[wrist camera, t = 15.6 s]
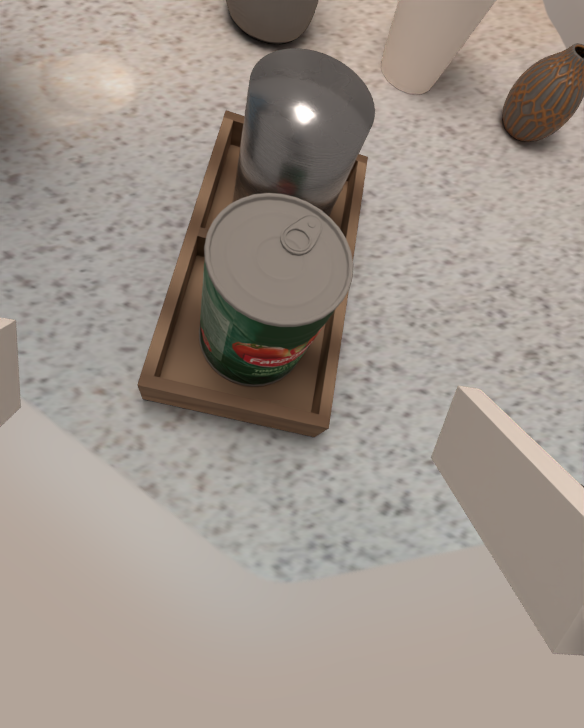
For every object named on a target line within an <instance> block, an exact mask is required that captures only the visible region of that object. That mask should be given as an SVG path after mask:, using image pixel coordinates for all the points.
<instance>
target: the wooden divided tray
mask: <svg viewBox="0 0 584 728" xmlns="http://www.w3.org/2000/svg"><path fill="white" fill-rule="evenodd" d="M244 117H245V116H242V115H239V114H236V113H233V112H229V111H225V114H224V118H223V121H222V124H221V127H220V130H219V133H218V136H217V139H216V142H215V145H214V149H213V152H212V155H211V158H210V161H209V164H208V167H207V170H206V173H205V177H204V180H203V183H202V186H201V189H200V192H199V195H198V198H197V201H196V204H195V208H194V211H193V214H192V217H191V220H190V223H189V226H188V229H187V232H186V236H185V239H184V242H183V245H182V248H181V251H180V254H179V257H178V260H177V263H176V267H175V270H174V273H173V276H172V279H171V282H170V285H169V288H168V291H167V294H166V298H165V301H164V304H163V307H162V310H161V313H160V316H159V319H158V322H157V326H156V329H155V332H154V335H153V338H152V341H151V344H150V347H149V350H148V353H147V357H146V360H145V363H144V366H143V369H142V372H141V375H140V378H139V381H138V388H139V390H140V393H141V396H142V398H143V399H145V400H150V401H154V402H159V403H163V404H168V405H172V406H177V407H181V408H186V409H190V410H195V411H199V412H204V413H208V414H213V415H217V416H222V417H226V418H231V419H235V420H240V421H244V422H249V423H253V424H257V425H262V426H266V427H271V428H275V429H280V430H284V431H289V432H293V433H298V434H302V435H307V436H311V437H316V436H317V435H319V434H320V433H322V432H324V431H325V430H327V429H329V422H330V415H331V409H332V402H333V395H334V388H335V381H336V374H337V367H338V360H339V353H340V346H341V339H342V332H343V325H344V318H345V312H346V305H347V298H348V292H347V294H346V296H345V298H344V300H343V301H342V302H341V303H340V304H339V306H338V307H337V308H336V309H335V310H334V312H333V314H332V315H331V316H330V318H329V320H328V321H327V322H326V323H325V325H324V327H323V328H322V329H321V331H320V332H319V333H318V335H317V336H316V338H315V339H314V341H313V342H312V343H311V345H310V346H309V347H308V349H307V350H306V352H305V353H304V355H303V356H302V357H301V359H300V360H299V361H298V363H297V365H296V366H295V368H294V369H293V370H292V371H291V372H290V373H289V374H288V375H287V376H285V377H284V378H283V379H281V380H279V381H277V382H275V383H273V384H269V385H265V386H255V387H250V386H243V385H239V384H236V383H233V382H230V381H229V380H227V379H225V378H223V377H222V376H220V375H219V374H218V373H217V372H216V371H215V370H213V368H212V367H211V366H210V365H209V363H208V362H207V361H206V359H205V357H204V355H203V353H202V350H201V346H200V342H199V328H200V315H201V300H202V286H203V272H204V261H205V254H204V246H205V241H206V236H207V233H208V231H209V228H210V226H211V224H212V222H213V221H214V219H215V218H216V217H217V215H218V214H219V213H220V212H221V211H222V210H223V209H225V208H226V207H227V206H228V205H229V204H231V203H232V202H233V195H234V188H235V181H236V174H237V167H238V160H239V153H240V145H241V138H242V131H243V124H244ZM367 159H368V157H366V156H363V155H360V154H358V156H357V158H356V161H355V163H354V165H353V167H352V169H351V171H350V173H349V175H348V178H347V180H346V182H345V184H344V186H343V188H342V190H341V192H340V195H339V197H338V199H337V201H336V203H335V205H334V207H333V209H332V212H331V214H330V216H329V217H330V218H331V219H332V220H333V221H334V222H335V224H336V225H337V226H338V227H339V228H340V230H341V231H342V233H343V235H344V236H345V238H346V240H347V242H348V245H349V247H350V250H351V254H352V260H353V256H354V249H355V242H356V235H357V228H358V221H359V214H360V208H361V201H362V194H363V187H364V180H365V173H366V166H367ZM348 291H349V290H348Z"/></svg>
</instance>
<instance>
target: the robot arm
mask: <svg viewBox="0 0 584 728" xmlns="http://www.w3.org/2000/svg"><path fill="white" fill-rule="evenodd" d="M20 407H21V404H20V385H19V367H18V349H17V331H16V320H12V319H5V318H0V427H1V426H2V425H3V424H4V423H5V422H6V421H7V420H8V419H9V418H10V417H11V416H12V415H13V414H14V413H15V412H16V411H17V410H18V409H19V408H20ZM431 458H432V460H433V462H434V463H435V465H436V466H437V468H438V470H439V471H440V473H441V474H442V476H443V478H444V479H445V481H446V483H447V484H448V486H449V487H450V489H451V491H452V492H453V494H454V495H455V497H456V499H457V500H458V502H459V503H460V505H461V507H462V508H463V510H464V512H465V513H466V515H467V516H468V518H469V520H470V521H471V523H472V524H473V526H474V528H475V529H476V531H477V533H478V534H479V536H480V537H481V539H482V541H483V542H484V544H485V545H486V547H487V549H488V550H489V552H490V553H491V555H492V557H493V558H494V560H495V562H496V563H497V565H498V566H499V568H500V570H501V571H502V573H503V574H504V576H505V578H506V579H507V581H508V582H509V584H510V586H511V587H512V589H513V591H514V592H515V594H516V595H517V597H518V599H519V600H520V602H521V603H522V605H523V607H524V608H525V610H526V612H527V613H528V615H529V616H530V618H531V620H532V621H533V623H534V624H535V626H536V627H537V629H538V631H539V632H540V634H541V636H542V637H543V639H544V640H545V642H546V644H547V645H548V647H549V649H550V650H551V652H552V653H553V654H568V655H584V486H583V485H581V484H580V483H578V482H577V481H576V480H575V479H574V478H573V477H572V476H571V475H570V474H569V473H568V472H567V471H566V470H565V469H564V468H563V467H562V466H560V465H559V464H558V463H557V462H556V461H555V460H554V459H553V458H552V457H551V456H550V455H549V454H548V453H547V452H546V451H545V450H544V449H543V448H542V447H540V446H539V445H538V444H537V443H536V442H535V441H534V440H533V439H532V438H531V437H530V436H529V435H528V434H527V433H526V432H525V431H524V430H523V429H521V428H520V427H519V426H518V425H517V424H516V423H515V422H514V421H513V420H512V419H511V418H510V417H509V416H508V415H507V414H506V413H505V412H504V411H503V410H501V409H500V408H499V407H498V406H497V405H496V404H495V403H494V402H493V401H492V400H491V399H490V398H489V397H488V396H487V395H486V394H485V393H484V392H483V391H481V390H480V389H476V388H469V387H462V386H458V387H457V389H456V392H455V395H454V397H453V400H452V403H451V405H450V408H449V411H448V413H447V416H446V419H445V421H444V424H443V427H442V429H441V432H440V435H439V438H438V440H437V443H436V446H435V448H434V451H433V454H432V456H431Z"/></svg>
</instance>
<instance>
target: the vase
mask: <svg viewBox="0 0 584 728" xmlns="http://www.w3.org/2000/svg"><path fill="white" fill-rule="evenodd" d="M583 97H584V45H582V44H578V43H577V44H574V45H572V46H571V47H569V48H568V49H566V50H564V51H562V52H559V53H556V54H553V55H551V56H548V57H545V58H543V59H541V60H539V61H538V62H536V63H535V64H533V65H532V66H531V67H530V68H528V69H527V70H526V71H525V72H524V73H523V74H522V75H521V76H520V77H519V79H518V80H517V81H516V82H515V84H514V85H513V87H512V88H511V90H510V92H509V94H508V96H507V98H506V101H505V104H504V107H503V122H504V126H505V128H506V130H507V131H508V133H509V134H510V135H511V136H513V137H514V138H516V139H518V140H520V141H526V142H528V141H537V140H541V139H544V138H546V137H548V136H550V135H551V134H553V133H554V132H556V131H557V130H559V129H560V128H561V127H562V126H563V125H564V124H565V123H566V122H567V121H568V120H569V119H570V118H571V117H572V116H573V114H574V113H575V112H576V110H577V108H578V107H579V105H580V103H581V101H582V99H583Z"/></svg>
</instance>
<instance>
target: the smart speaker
mask: <svg viewBox="0 0 584 728" xmlns="http://www.w3.org/2000/svg"><path fill="white" fill-rule="evenodd" d="M226 2H227V6H228V9H229V12H230V14H231V16H232V18H233V20H234V21H235V23H236V24H237V25H238V26H239V27H240V28H241V29H242V30H243V31H244V32H245V33H247V34H248V35H250V36H251V37H253V38H255V39H257V40H260V41H263V42H267V43H273V44H281V43H287V42H290V41H293V40H295V39H296V38H298V37H299V36H300V35H301V34H302V33H303V32H304V31H305V30H306V28H307V27H308V25H309V23H310V22H311V20H312V17H313V15H314V13H315V10H316V7H317V4H318V0H226Z"/></svg>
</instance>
